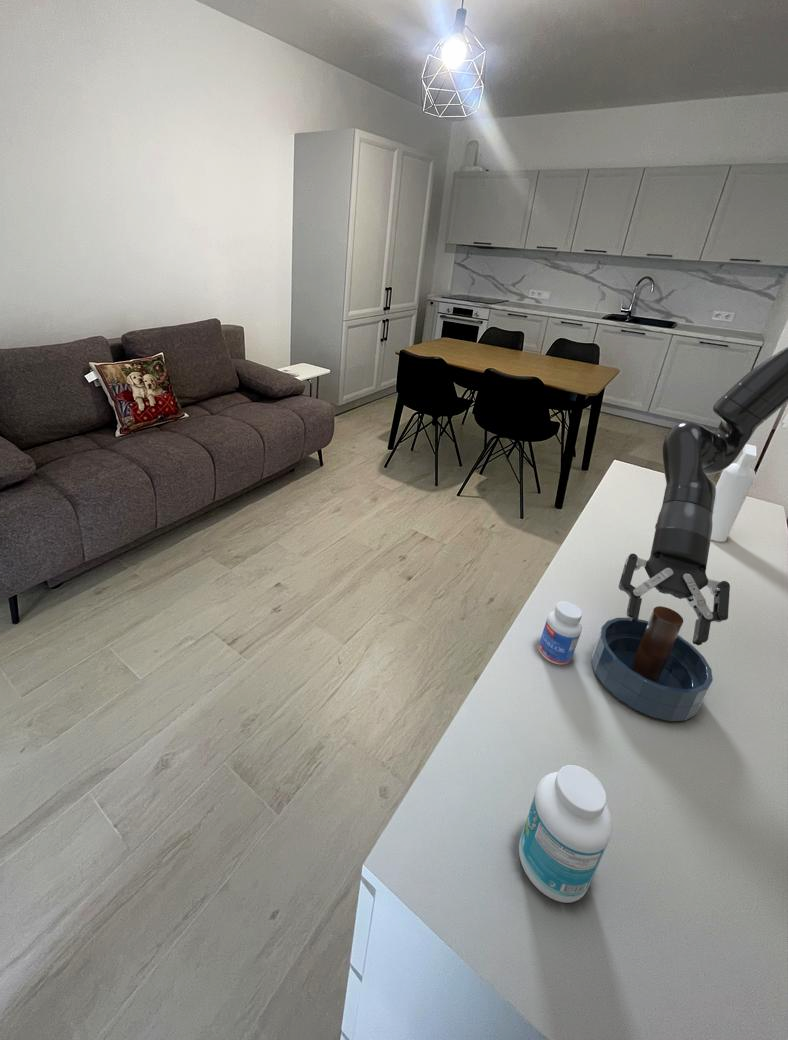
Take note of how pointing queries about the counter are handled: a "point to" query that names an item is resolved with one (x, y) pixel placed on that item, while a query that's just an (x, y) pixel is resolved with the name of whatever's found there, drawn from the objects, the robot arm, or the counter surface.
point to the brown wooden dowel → (657, 643)
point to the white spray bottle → (732, 493)
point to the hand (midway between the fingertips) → (664, 632)
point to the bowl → (663, 700)
